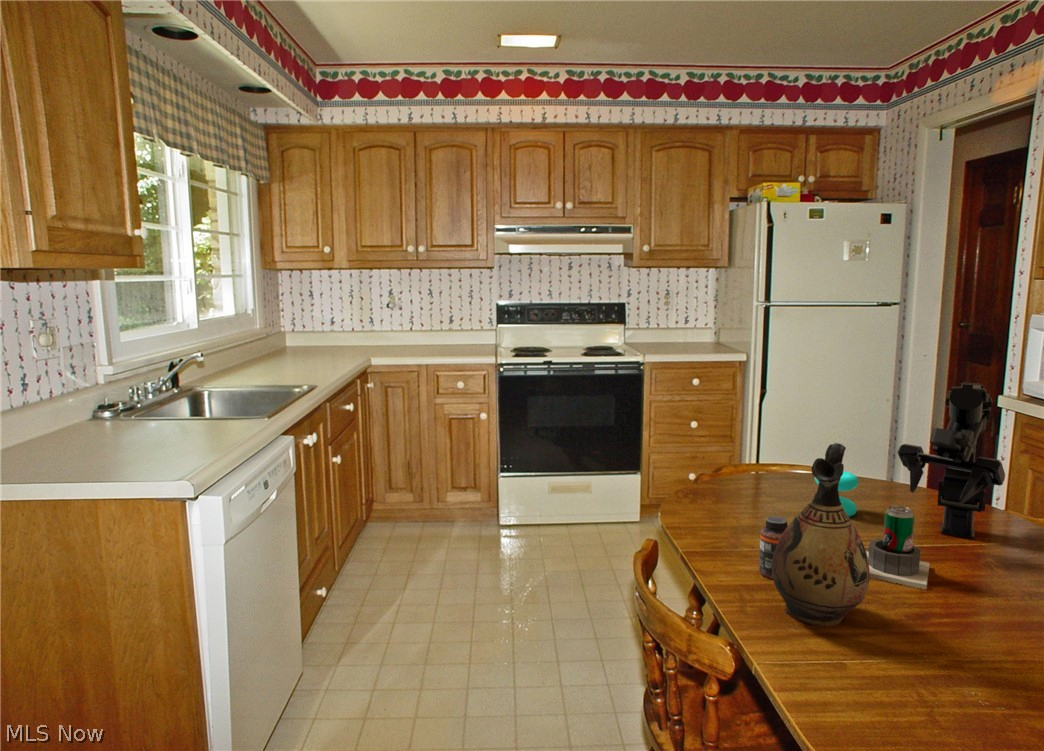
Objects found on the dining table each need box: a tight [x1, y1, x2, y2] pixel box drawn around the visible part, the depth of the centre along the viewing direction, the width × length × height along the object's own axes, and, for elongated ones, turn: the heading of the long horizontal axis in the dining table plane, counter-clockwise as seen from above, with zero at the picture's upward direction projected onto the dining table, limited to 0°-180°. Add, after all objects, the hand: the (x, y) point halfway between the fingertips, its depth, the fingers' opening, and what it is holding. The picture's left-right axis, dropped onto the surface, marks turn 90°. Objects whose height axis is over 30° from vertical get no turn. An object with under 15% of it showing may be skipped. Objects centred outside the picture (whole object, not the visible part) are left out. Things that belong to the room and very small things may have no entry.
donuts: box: [814, 470, 860, 518], centre depth 168 cm, size 10×10×10 cm
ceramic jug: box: [772, 442, 871, 627], centre depth 116 cm, size 17×15×30 cm
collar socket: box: [866, 538, 930, 591], centre depth 134 cm, size 12×12×5 cm
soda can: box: [882, 505, 915, 554], centre depth 133 cm, size 5×5×12 cm
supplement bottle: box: [758, 516, 788, 580], centre depth 132 cm, size 6×6×11 cm
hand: (935, 496), depth 138 cm, fingers open, 9 cm apart
